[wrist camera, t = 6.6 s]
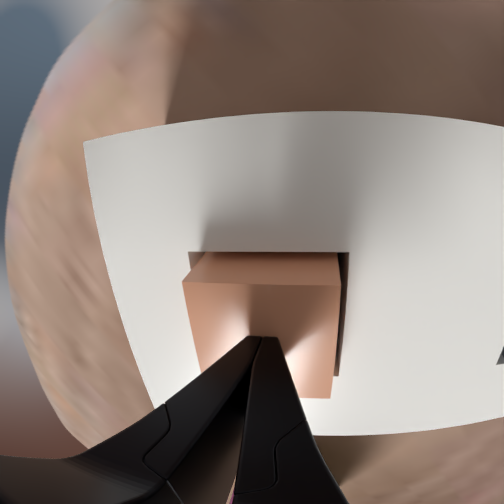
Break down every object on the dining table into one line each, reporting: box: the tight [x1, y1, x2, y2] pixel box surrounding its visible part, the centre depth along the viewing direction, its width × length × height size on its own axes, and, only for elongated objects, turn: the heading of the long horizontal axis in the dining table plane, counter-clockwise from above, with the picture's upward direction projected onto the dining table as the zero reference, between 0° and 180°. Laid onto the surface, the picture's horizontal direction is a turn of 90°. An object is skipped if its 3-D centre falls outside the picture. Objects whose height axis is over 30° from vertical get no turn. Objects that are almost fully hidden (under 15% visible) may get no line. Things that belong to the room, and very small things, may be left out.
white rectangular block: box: [83, 111, 504, 436], centre depth 11 cm, size 22×12×6 cm, turn 94°
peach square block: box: [182, 252, 341, 399], centre depth 11 cm, size 4×4×6 cm
